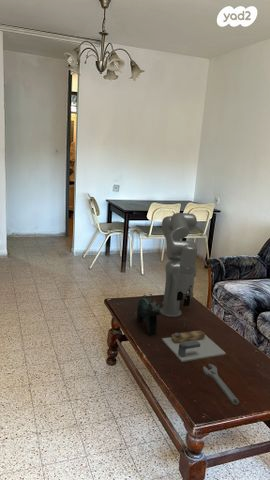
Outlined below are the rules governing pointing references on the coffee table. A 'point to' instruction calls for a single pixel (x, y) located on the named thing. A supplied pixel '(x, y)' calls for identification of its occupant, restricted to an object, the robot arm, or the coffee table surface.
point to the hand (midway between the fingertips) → (182, 302)
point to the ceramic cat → (148, 314)
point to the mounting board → (194, 349)
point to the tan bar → (188, 336)
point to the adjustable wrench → (220, 383)
